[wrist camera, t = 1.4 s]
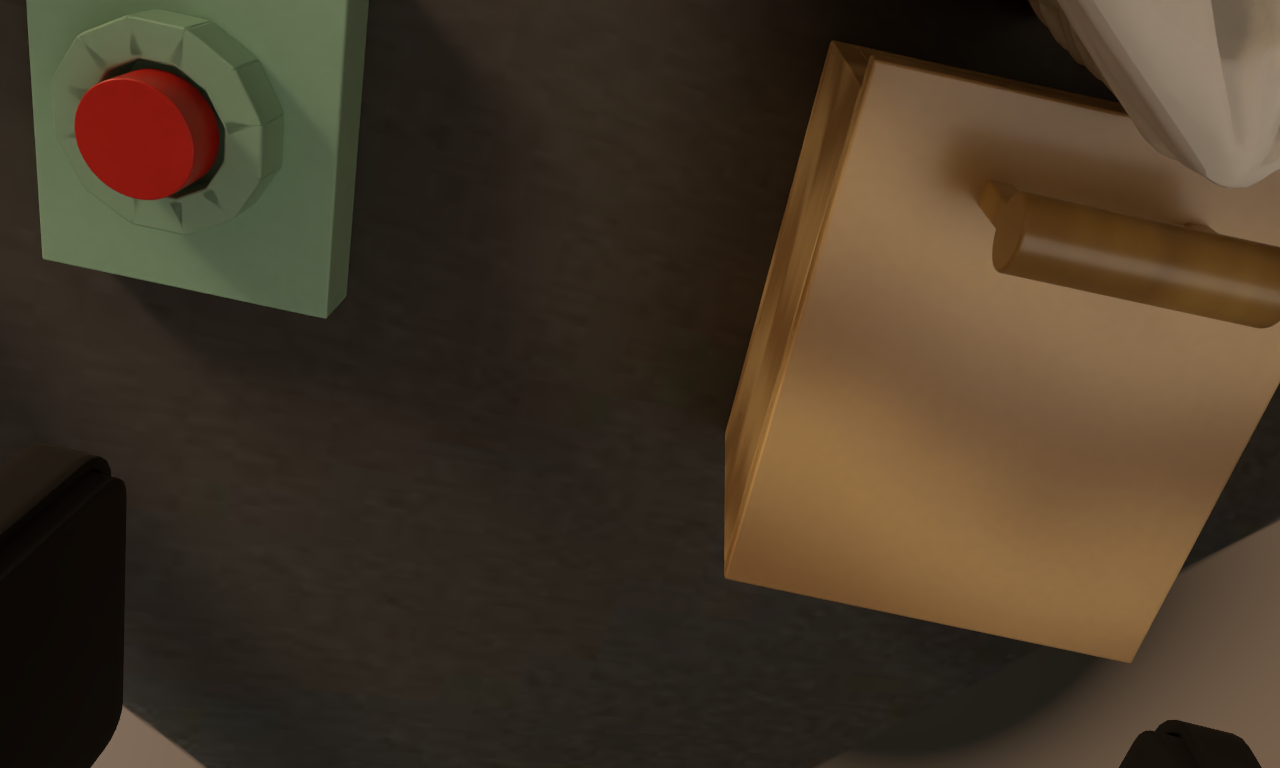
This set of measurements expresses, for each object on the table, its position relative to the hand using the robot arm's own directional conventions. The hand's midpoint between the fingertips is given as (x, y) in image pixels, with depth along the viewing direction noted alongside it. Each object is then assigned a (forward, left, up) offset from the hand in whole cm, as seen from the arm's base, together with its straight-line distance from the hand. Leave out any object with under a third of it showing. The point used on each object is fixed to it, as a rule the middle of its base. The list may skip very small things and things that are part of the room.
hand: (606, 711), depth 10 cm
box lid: (+4, +10, -19) cm, 22 cm away
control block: (+3, -16, -28) cm, 32 cm away
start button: (+3, -16, -24) cm, 29 cm away
